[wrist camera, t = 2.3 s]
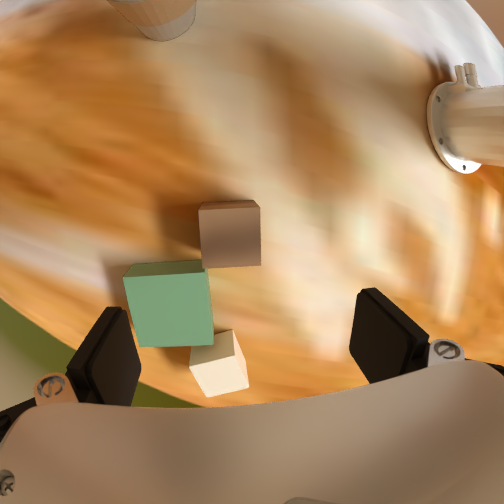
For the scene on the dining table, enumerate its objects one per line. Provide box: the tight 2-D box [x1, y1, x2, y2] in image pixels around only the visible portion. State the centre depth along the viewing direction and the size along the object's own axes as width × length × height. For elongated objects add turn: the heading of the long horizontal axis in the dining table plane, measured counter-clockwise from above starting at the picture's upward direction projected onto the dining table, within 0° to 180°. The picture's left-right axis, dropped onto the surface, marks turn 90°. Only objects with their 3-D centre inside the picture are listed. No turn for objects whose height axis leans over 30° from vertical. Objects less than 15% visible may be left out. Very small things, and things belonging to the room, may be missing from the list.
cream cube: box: [189, 329, 249, 397], centre depth 30 cm, size 5×5×5 cm
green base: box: [122, 260, 214, 347], centre depth 28 cm, size 8×8×4 cm
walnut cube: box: [198, 200, 261, 269], centre depth 26 cm, size 5×5×5 cm
